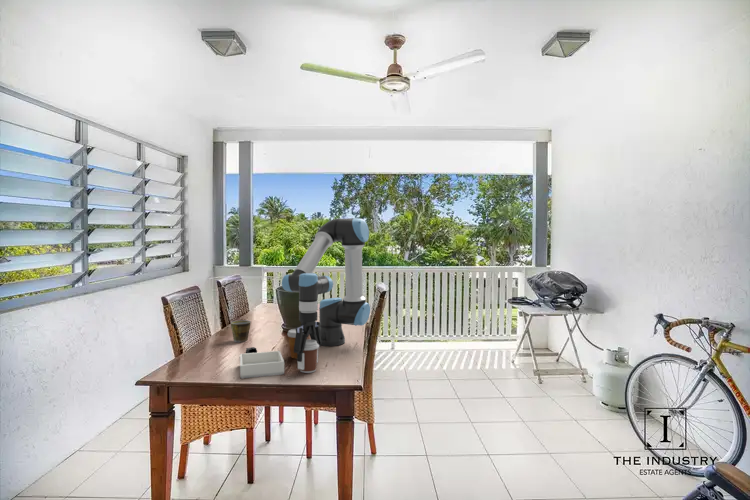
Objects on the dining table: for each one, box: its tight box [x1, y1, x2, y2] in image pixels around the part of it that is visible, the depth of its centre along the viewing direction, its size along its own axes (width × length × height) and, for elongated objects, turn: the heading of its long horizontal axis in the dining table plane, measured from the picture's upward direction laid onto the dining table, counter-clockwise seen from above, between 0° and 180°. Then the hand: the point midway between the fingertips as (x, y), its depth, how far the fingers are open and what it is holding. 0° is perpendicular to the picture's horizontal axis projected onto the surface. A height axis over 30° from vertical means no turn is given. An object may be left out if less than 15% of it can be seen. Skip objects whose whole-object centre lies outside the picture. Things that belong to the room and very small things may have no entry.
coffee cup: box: [299, 338, 320, 374], centre depth 164 cm, size 9×9×12 cm
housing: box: [239, 350, 285, 379], centre depth 165 cm, size 17×17×5 cm
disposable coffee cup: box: [286, 328, 297, 360], centre depth 184 cm, size 10×10×12 cm
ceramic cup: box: [230, 319, 252, 343], centre depth 209 cm, size 13×10×10 cm
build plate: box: [239, 346, 258, 359], centre depth 183 cm, size 12×7×5 cm, turn 129°
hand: (308, 365), depth 165 cm, fingers closed on coffee cup, 9 cm apart
